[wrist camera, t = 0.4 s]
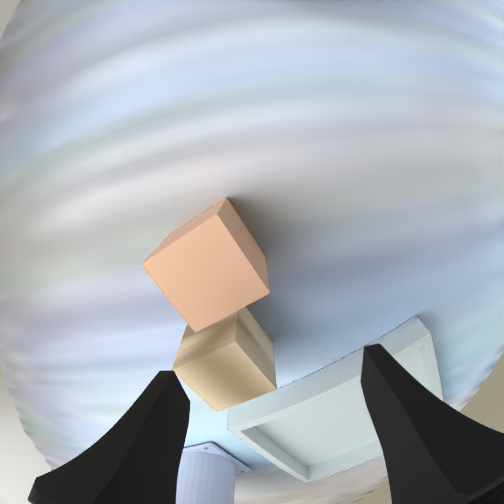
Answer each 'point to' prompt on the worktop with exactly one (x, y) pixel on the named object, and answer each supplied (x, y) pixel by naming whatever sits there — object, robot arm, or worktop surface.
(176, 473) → the robot arm
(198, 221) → the terracotta block
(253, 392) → the oak block
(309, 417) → the grey tray
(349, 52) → the worktop surface
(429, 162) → the worktop surface
